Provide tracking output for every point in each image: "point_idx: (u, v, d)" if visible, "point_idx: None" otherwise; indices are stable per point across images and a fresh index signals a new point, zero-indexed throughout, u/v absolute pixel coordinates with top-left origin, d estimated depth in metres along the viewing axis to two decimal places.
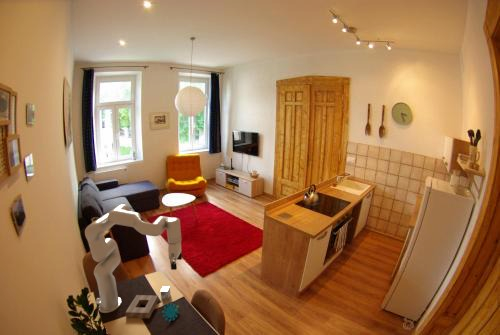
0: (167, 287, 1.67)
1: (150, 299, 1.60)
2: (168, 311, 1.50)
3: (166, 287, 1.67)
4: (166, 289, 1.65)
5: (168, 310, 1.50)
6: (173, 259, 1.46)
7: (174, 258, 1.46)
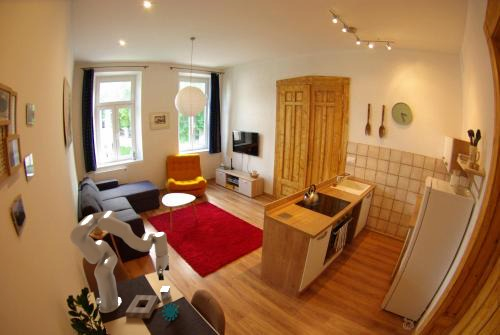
0: (167, 287, 1.67)
1: (150, 299, 1.60)
2: (168, 311, 1.50)
3: (166, 287, 1.67)
4: (166, 289, 1.65)
5: (168, 310, 1.51)
6: None
7: (161, 270, 1.57)
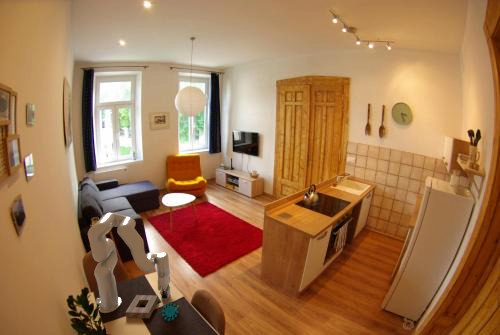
0: (167, 287, 1.67)
1: (150, 299, 1.60)
2: (167, 310, 1.51)
3: None
4: (166, 289, 1.65)
5: (168, 309, 1.51)
6: (163, 289, 1.63)
7: None
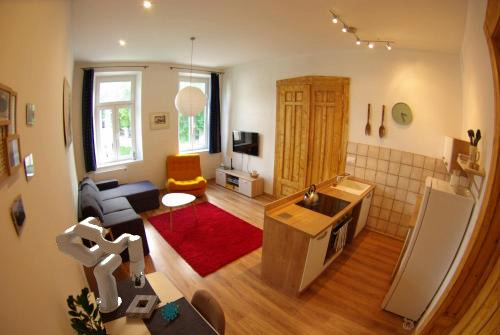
0: (141, 274, 1.53)
1: (150, 299, 1.60)
2: (167, 310, 1.51)
3: (140, 274, 1.53)
4: (140, 276, 1.51)
5: (167, 309, 1.51)
6: (136, 276, 1.49)
7: None
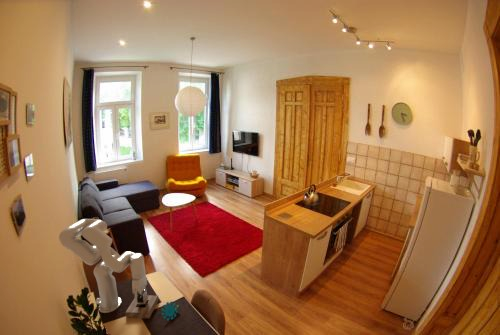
0: (144, 290, 1.56)
1: (150, 299, 1.60)
2: (167, 310, 1.51)
3: None
4: (142, 292, 1.54)
5: (167, 309, 1.51)
6: None
7: None
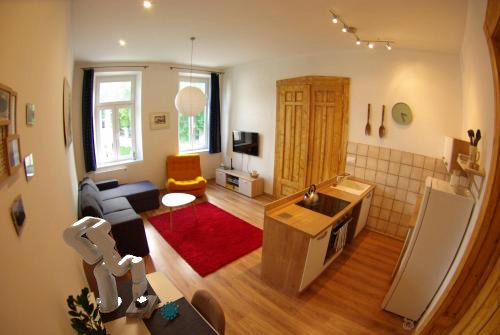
0: (144, 298, 1.58)
1: (150, 299, 1.60)
2: (167, 309, 1.51)
3: (142, 298, 1.57)
4: (143, 300, 1.56)
5: (167, 308, 1.52)
6: None
7: (138, 297, 1.51)
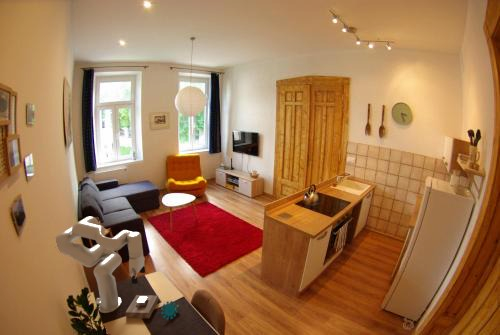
0: (144, 298, 1.58)
1: (150, 299, 1.60)
2: (167, 309, 1.51)
3: (142, 298, 1.57)
4: (143, 300, 1.56)
5: (167, 308, 1.52)
6: (134, 273, 1.47)
7: None
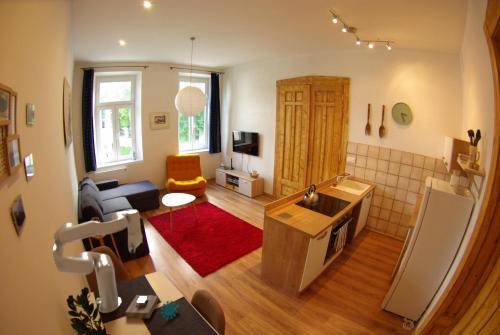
0: (144, 298, 1.57)
1: (150, 299, 1.60)
2: (167, 309, 1.52)
3: (142, 298, 1.57)
4: (143, 300, 1.56)
5: (167, 308, 1.52)
6: None
7: (133, 247, 1.59)
